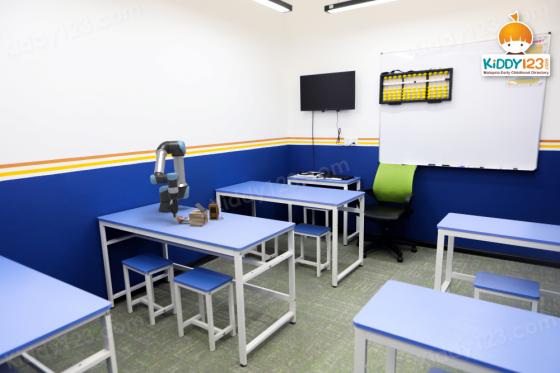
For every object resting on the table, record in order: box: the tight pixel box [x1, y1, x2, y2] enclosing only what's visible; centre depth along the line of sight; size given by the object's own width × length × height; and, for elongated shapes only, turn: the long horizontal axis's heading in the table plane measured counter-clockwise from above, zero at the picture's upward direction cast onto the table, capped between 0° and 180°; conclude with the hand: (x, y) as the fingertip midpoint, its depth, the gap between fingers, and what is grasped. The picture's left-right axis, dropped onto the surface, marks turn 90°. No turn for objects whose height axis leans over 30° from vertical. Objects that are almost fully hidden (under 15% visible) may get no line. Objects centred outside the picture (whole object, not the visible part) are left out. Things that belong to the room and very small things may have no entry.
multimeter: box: [206, 196, 224, 221], centre depth 297 cm, size 15×10×20 cm
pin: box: [177, 215, 189, 224], centre depth 284 cm, size 14×6×6 cm, turn 82°
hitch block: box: [188, 208, 209, 227], centre depth 282 cm, size 14×10×12 cm
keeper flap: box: [195, 202, 206, 211], centre depth 280 cm, size 6×8×1 cm
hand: (175, 220), depth 285 cm, fingers closed
